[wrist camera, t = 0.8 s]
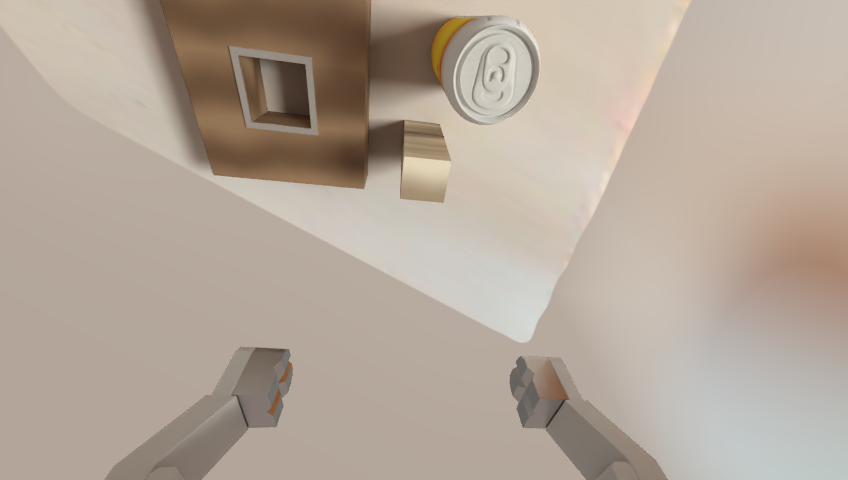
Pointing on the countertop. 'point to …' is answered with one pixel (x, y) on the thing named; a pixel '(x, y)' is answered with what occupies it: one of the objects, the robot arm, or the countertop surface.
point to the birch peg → (424, 162)
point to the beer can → (486, 66)
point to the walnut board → (244, 92)
